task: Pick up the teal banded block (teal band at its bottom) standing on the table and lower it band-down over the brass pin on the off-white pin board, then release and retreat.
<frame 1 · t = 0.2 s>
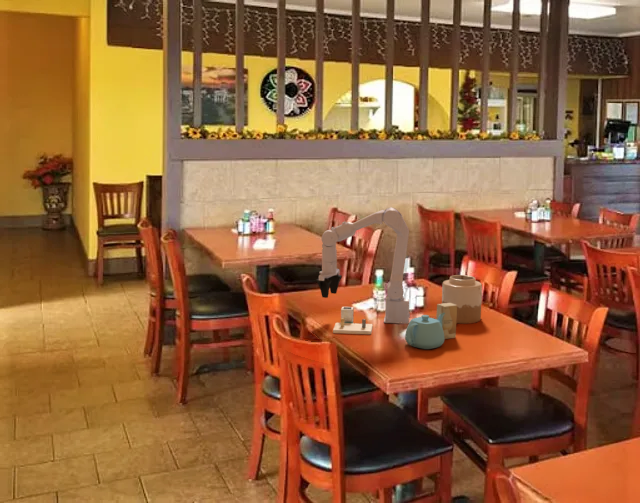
hand: (329, 295, 291), 10 cm above the table, fingers open, 7 cm apart
pin board: (353, 330, 278), on the table
teal banded block: (347, 323, 287), on the table
skincare box: (445, 337, 269), on the table
teapot: (426, 345, 260), on the table
vase: (460, 319, 295), on the table
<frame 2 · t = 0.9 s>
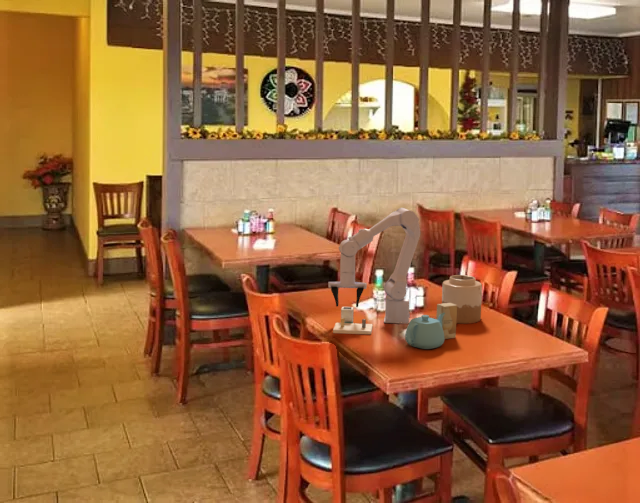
hand: (347, 306, 286), 7 cm above the table, fingers open, 7 cm apart
nothing on the table moved.
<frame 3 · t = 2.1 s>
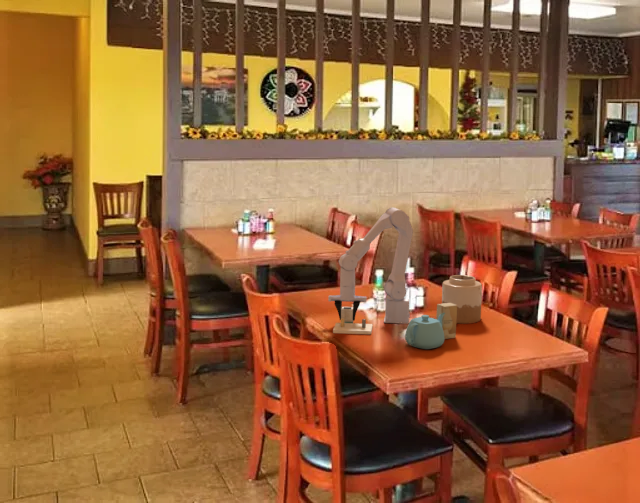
hand: (347, 319, 287), 1 cm above the table, fingers closed on teal banded block, 4 cm apart
teal banded block: (347, 323, 287), on the table, touching gripper
everything else where it was.
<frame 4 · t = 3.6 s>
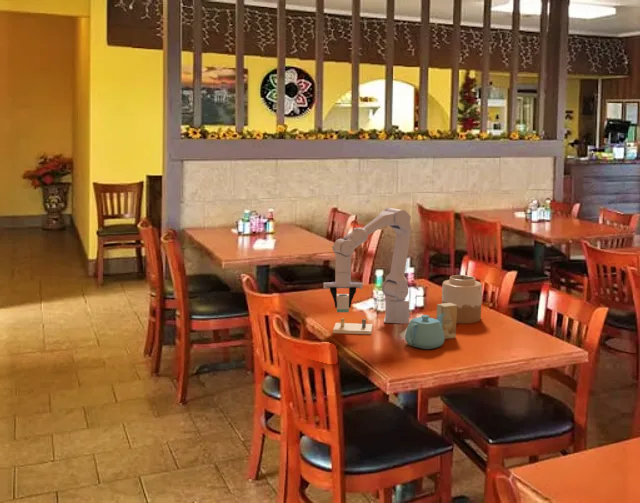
hand: (342, 307, 278), 8 cm above the table, fingers closed on teal banded block, 4 cm apart
teal banded block: (342, 310, 278), point 7 cm above the table, touching gripper
everything else where it was.
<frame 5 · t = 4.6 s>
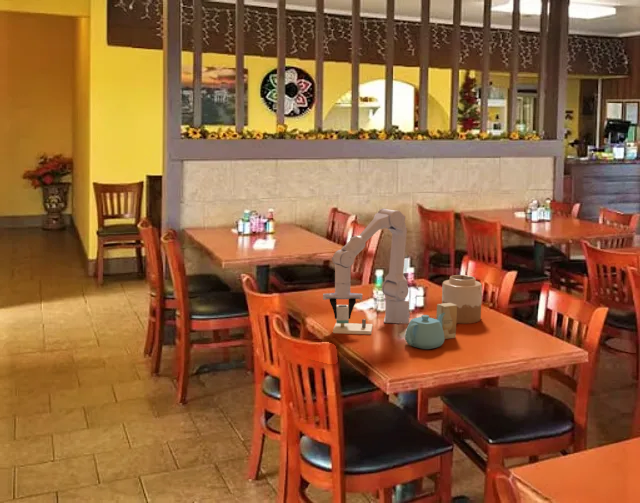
hand: (342, 318, 278), 4 cm above the table, fingers closed on teal banded block, 4 cm apart
teal banded block: (342, 321, 278), point 3 cm above the table, touching gripper
everything else where it was.
when the fingers open (3 cm above the table, at t = 5.4 s): teal banded block stays where it is, resting on pin board.
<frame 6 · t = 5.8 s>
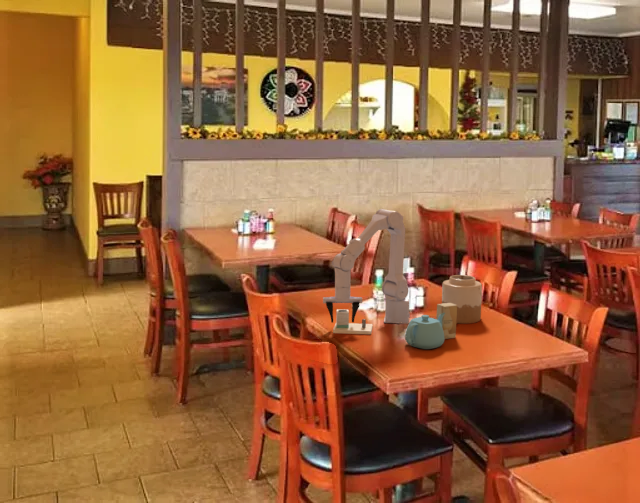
hand: (342, 321, 278), 3 cm above the table, fingers open, 7 cm apart
teal banded block: (342, 326, 278), point 1 cm above the table, touching pin board
everything else where it was.
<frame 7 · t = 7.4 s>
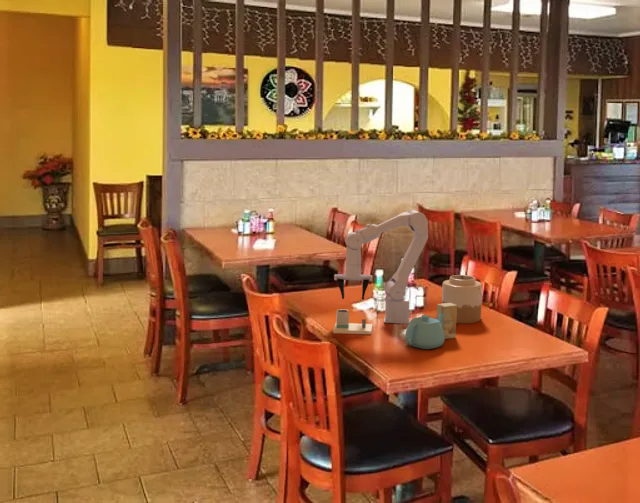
hand: (353, 298, 287), 9 cm above the table, fingers open, 7 cm apart
nothing on the table moved.
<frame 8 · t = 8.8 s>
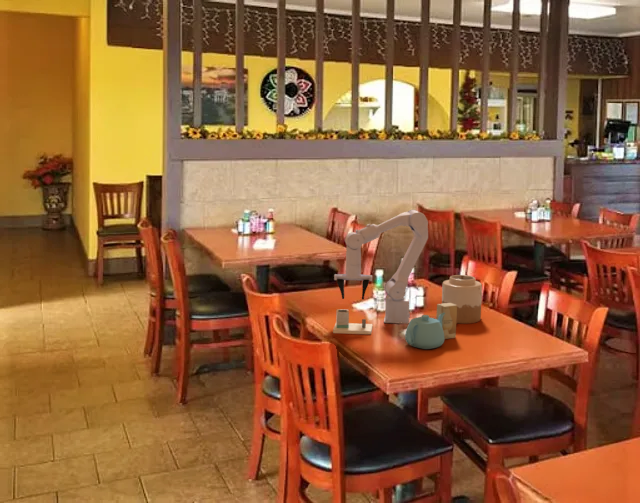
hand: (353, 298, 287), 9 cm above the table, fingers open, 7 cm apart
nothing on the table moved.
at the end: teal banded block 0.1 cm from the target spot on the pin board, point 1.2 cm above the pin board's base; teal banded block tilted 0°; the gripper is holding nothing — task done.
